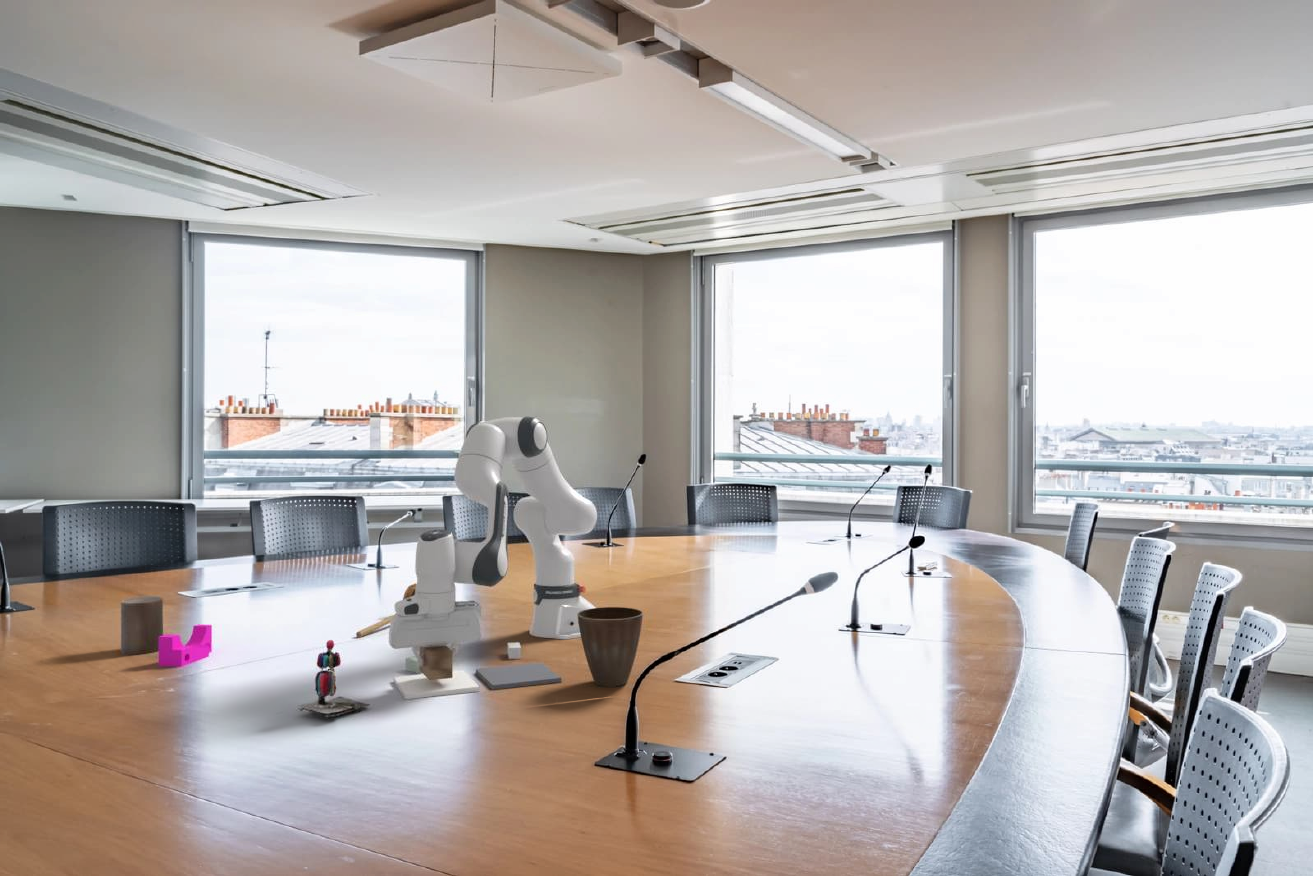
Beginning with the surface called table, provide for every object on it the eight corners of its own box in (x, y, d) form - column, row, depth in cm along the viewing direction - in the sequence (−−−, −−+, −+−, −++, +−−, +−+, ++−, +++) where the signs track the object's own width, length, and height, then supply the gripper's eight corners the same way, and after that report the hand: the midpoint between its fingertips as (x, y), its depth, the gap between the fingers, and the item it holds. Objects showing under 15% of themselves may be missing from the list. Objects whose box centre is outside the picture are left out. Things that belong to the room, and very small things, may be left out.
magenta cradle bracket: (181, 668, 231) (181, 637, 231) (158, 667, 233) (158, 636, 232) (220, 654, 246) (220, 625, 246) (198, 653, 247) (198, 624, 247)
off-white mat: (463, 674, 225) (463, 670, 225) (479, 691, 211) (479, 686, 211) (393, 681, 219) (393, 677, 219) (405, 699, 204) (405, 694, 204)
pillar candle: (169, 652, 248) (168, 594, 248) (128, 658, 241) (128, 599, 241) (155, 646, 254) (154, 590, 254) (114, 652, 247) (114, 594, 247)
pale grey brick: (507, 654, 246) (507, 643, 246) (519, 654, 247) (519, 642, 247) (508, 660, 241) (508, 648, 241) (520, 659, 241) (520, 647, 241)
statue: (327, 723, 188) (327, 647, 188) (296, 716, 193) (296, 642, 193) (370, 710, 197) (370, 637, 197) (340, 703, 202) (340, 632, 202)
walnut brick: (441, 667, 220) (441, 641, 220) (452, 677, 212) (452, 650, 211) (419, 670, 218) (419, 644, 218) (429, 680, 209) (429, 653, 209)
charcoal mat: (540, 666, 233) (540, 662, 233) (561, 682, 219) (561, 677, 219) (475, 673, 227) (475, 668, 227) (492, 689, 212) (492, 685, 212)
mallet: (342, 650, 266) (339, 615, 265) (422, 610, 301) (420, 579, 300) (378, 654, 262) (375, 618, 261) (455, 613, 296) (453, 582, 295)
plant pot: (593, 695, 208) (593, 621, 208) (567, 679, 221) (567, 610, 221) (654, 686, 215) (654, 615, 215) (625, 671, 228) (625, 604, 228)
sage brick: (405, 670, 230) (405, 658, 230) (416, 668, 232) (416, 655, 232) (419, 674, 226) (419, 662, 226) (430, 672, 228) (430, 659, 228)
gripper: (478, 597, 222) (478, 657, 222) (387, 604, 214) (387, 665, 214) (484, 602, 216) (484, 663, 216) (391, 608, 208) (391, 672, 208)
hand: (435, 664), depth 215 cm, fingers closed on walnut brick, 5 cm apart
